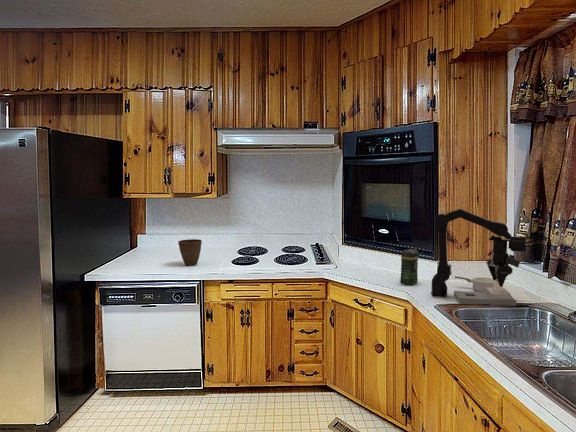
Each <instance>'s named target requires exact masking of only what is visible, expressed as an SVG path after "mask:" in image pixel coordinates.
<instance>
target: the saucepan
mask: <svg viewBox="0 0 576 432" xmlns="http://www.w3.org/2000/svg"><path fill="white" fill-rule="evenodd" d="M454 279H460V280H465V281H467V282H468V283H472V289H473V290H474V291H475V292H486V288H494V280H493V278H492V277H484V276H476V277H471V278H468V277H464V276H463V277H462V276H456V275H455V276H454Z"/></svg>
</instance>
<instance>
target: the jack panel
mask: <svg viewBox="0 0 576 432" xmlns="http://www.w3.org/2000/svg"><path fill="white" fill-rule="evenodd" d="M453 297H454V298H455V299H456V302H457V303H458V304H466V305H483V304H489V305H490V306H503V305H509V306H508V307H512V306H513V307H516V306H517V299H515V298H514V297H513V296H512V293H510V292H509V291H508V290H507V289H505V288H503V292H494V288H486V292H478V291H465V290H453ZM489 305H488V306H489Z"/></svg>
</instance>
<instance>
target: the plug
mask: <svg viewBox="0 0 576 432" xmlns="http://www.w3.org/2000/svg"><path fill="white" fill-rule="evenodd" d="M503 287H504V285H503V286H502V287H500V286H499V283H498V280H494V292H503Z"/></svg>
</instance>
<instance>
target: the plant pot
mask: <svg viewBox="0 0 576 432" xmlns="http://www.w3.org/2000/svg"><path fill="white" fill-rule="evenodd" d="M202 241H203V240H202V239H194V238H191V239H182V240H178V241H177V243H178V247H179V248H178V249H179V252H180V254H181V258H182V261H183V263H184V266H186V267H194V266H197V264H198V261H199V259H200V255H201V252H202V251H201V250H202V249H201V248H202Z"/></svg>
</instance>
